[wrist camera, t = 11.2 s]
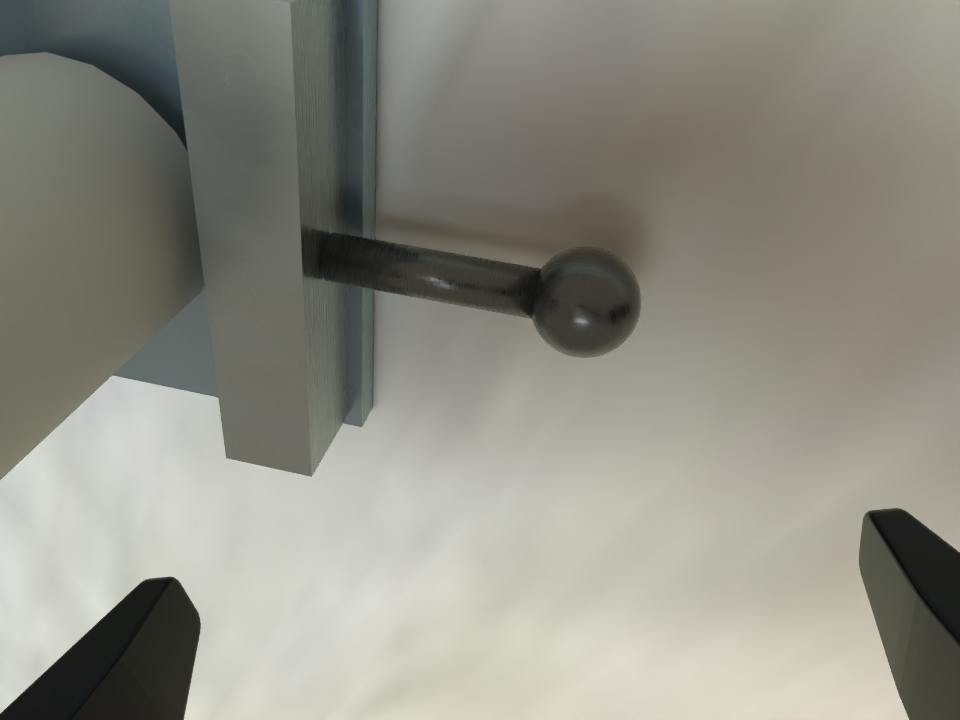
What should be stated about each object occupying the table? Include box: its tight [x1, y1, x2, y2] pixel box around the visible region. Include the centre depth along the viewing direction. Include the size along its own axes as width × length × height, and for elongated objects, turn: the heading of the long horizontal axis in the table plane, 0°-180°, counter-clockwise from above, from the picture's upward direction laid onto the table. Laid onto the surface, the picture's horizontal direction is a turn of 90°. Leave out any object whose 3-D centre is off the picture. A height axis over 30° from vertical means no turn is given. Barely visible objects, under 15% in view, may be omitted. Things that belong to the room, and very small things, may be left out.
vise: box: [0, 0, 641, 477], centre depth 19 cm, size 22×13×7 cm, turn 85°
